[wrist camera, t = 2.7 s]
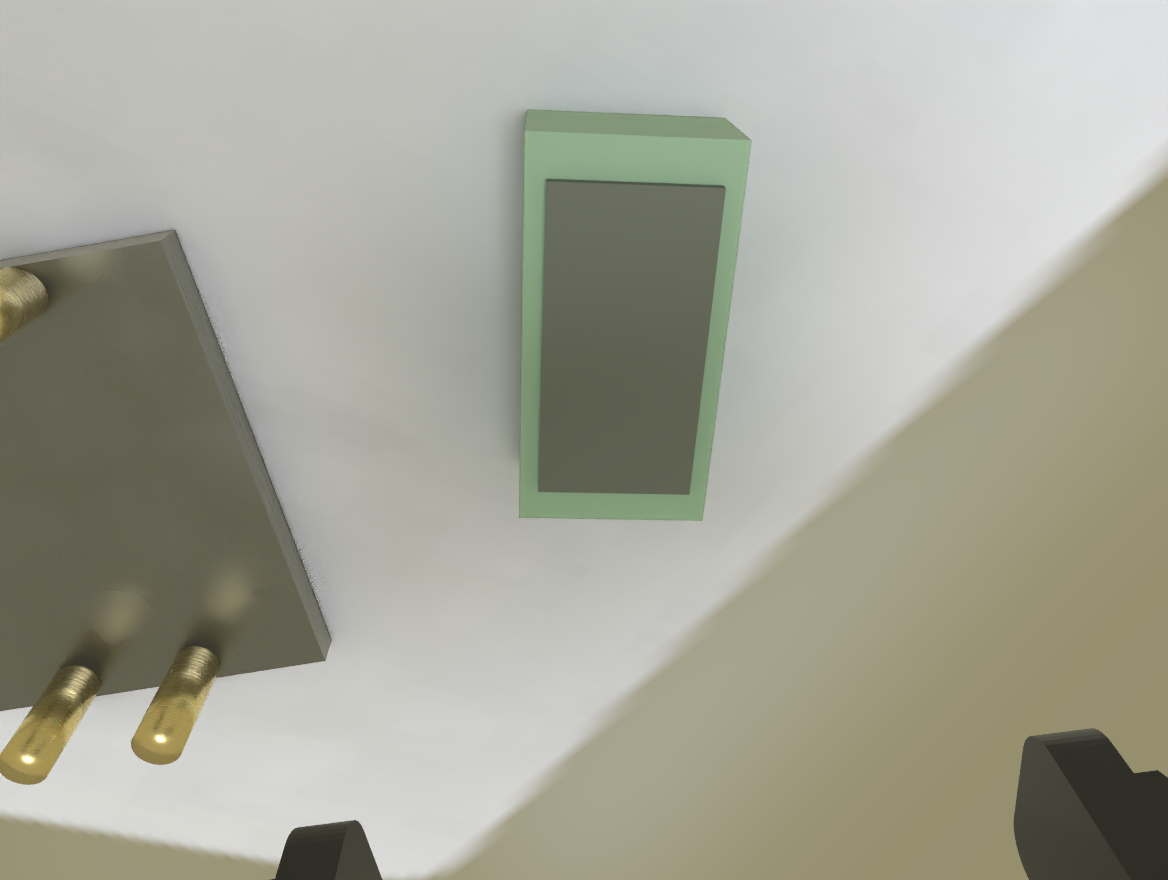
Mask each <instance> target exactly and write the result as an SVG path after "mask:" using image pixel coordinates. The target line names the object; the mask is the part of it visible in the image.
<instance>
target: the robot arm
mask: <svg viewBox="0 0 1168 880" xmlns="http://www.w3.org/2000/svg"><path fill="white" fill-rule="evenodd" d="M1014 833H1015V840H1016V844H1017V848H1018V852H1019V855H1020V859H1021V862H1022V864H1023V867H1024V869H1025V872H1026V874H1027V876H1028V878H1029V880H1168V778H1167V777H1166V776H1165V775H1163V774H1162V773H1161V772H1159V771H1158V770H1157V771H1149V772H1141V773H1133V772H1132V770H1131V769H1130V768H1129V766H1128V765H1127V763H1126V762H1125V761H1124V759H1123V758H1122V757H1121V755H1120V754H1119V753H1118V751H1117V750H1116V748H1115V747H1114V746H1113V744H1112V743H1111V742H1110V740H1109V739H1108V738H1107V737H1106V736H1105V735H1104V734H1103V733H1102V732H1100V731H1099V730H1096V729H1084V730H1076V731H1068V732H1061V733H1052V734H1044V735H1037V736H1030V737H1028V738H1027V739H1026V741H1025V743H1024V747H1023V754H1022V762H1021V769H1020V777H1019V784H1018V792H1017V799H1016V807H1015V815H1014ZM272 880H382V878H381V875H380V872H379V870H378V867H377V864H376V862H375V859H374V857H373V854H372V851H371V849H370V846H369V843H368V841H367V838H366V836H365V833H364V830H363V828H362V826H361V824H360V823H359V822H358V821H356V820H353V821H345V822H337V823H329V824H322V825H314V826H306V827H298V828H295V829H294V830H293V831H292V832H291V833H290V835H289V837H288V839H287V841H286V844H285V847H284V850H283V854H282V857H281V861H280V864H279V867H278V871H277V874H276V878H275V879H272Z"/></svg>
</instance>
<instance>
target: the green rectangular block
mask: <svg viewBox="0 0 1168 880" xmlns="http://www.w3.org/2000/svg"><path fill="white" fill-rule="evenodd" d="M750 148H751V139H749V138H748V137H747V136H746V135H745V134H743V133H742V132H741V131H740V130H739V129H738V128H736V127H735V126H734V125H733V124H732V123H730V122H729V121H728V120H727V119H726V118H713V117H689V116H666V115H643V114H620V113H596V112H573V111H550V110H527V114H526V123H525V145H524V212H523V278H522V345H521V412H520V479H519V518H574V519H633V520H693V521H702V519H703V512H704V504H705V496H706V488H707V481H708V473H709V465H710V457H711V450H712V442H713V434H714V426H715V419H716V411H717V403H718V395H719V388H720V380H721V372H722V365H723V357H724V349H725V341H726V334H727V326H728V318H729V310H730V303H731V295H732V287H733V279H734V272H735V264H736V256H737V248H738V241H739V233H740V225H741V217H742V210H743V202H744V194H745V186H746V179H747V171H748V163H749V155H750Z"/></svg>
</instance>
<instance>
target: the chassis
mask: <svg viewBox="0 0 1168 880" xmlns="http://www.w3.org/2000/svg"><path fill="white" fill-rule="evenodd" d="M330 643H331V638H330V635H329V632H328V630H327V627H326V625H325V622H324V619H323V617H322V614H321V611H320V609H319V606H318V604H317V601H316V598H315V596H314V593H313V591H312V588H311V585H310V583H309V580H308V577H307V575H306V572H305V570H304V567H303V564H302V562H301V559H300V557H299V554H298V551H297V549H296V546H295V543H294V541H293V538H292V536H291V533H290V530H289V528H288V525H287V523H286V520H285V517H284V515H283V512H282V509H281V507H280V504H279V502H278V499H277V496H276V494H275V491H274V489H273V486H272V483H271V481H270V478H269V475H268V473H267V470H266V468H265V465H264V462H263V460H262V457H261V455H260V452H259V449H258V447H257V444H256V441H255V439H254V436H253V434H252V431H251V428H250V426H249V423H248V421H247V418H246V415H245V413H244V410H243V407H242V405H241V402H240V400H239V397H238V394H237V392H236V389H235V387H234V384H233V381H232V379H231V376H230V373H229V371H228V368H227V366H226V363H225V360H224V358H223V355H222V353H221V350H220V347H219V345H218V342H217V339H216V337H215V334H214V332H213V329H212V326H211V324H210V321H209V319H208V316H207V313H206V311H205V308H204V305H203V303H202V300H201V298H200V295H199V292H198V290H197V287H196V285H195V282H194V279H193V277H192V274H191V271H190V269H189V266H188V264H187V261H186V258H185V256H184V253H183V251H182V248H181V245H180V243H179V240H178V237H177V235H176V232H175V230H172V231H166V232H161V233H155V234H149V235H143V236H138V237H132V238H126V239H120V240H115V241H109V242H103V243H98V244H92V245H86V246H80V247H75V248H69V249H63V250H57V251H52V252H46V253H40V254H34V255H29V256H23V257H17V258H11V259H6V260H0V711H4V710H10V709H17V708H23V707H30V706H33V708H32V709H31V711H30V712H29V713H28V715H27V716H26V718H25V719H24V721H23V722H22V724H21V725H20V727H19V728H18V730H17V731H16V733H15V734H14V735H13V737H12V738H11V740H10V741H9V743H8V744H7V746H6V747H5V749H4V750H3V752H2V753H1V755H0V773H1V774H2V775H3V776H4V777H6V778H7V779H9V780H11V781H13V782H16V783H19V784H26V785H30V784H37V783H39V782H42V781H43V780H44V779H45V778H46V777H47V775H48V774H49V772H50V770H51V769H52V767H53V765H54V764H55V762H56V761H57V759H58V757H59V756H60V754H61V752H62V751H63V749H64V747H65V746H66V744H67V742H68V741H69V739H70V737H71V736H72V734H73V732H74V731H75V729H76V728H77V726H78V724H79V723H80V721H81V719H82V718H83V716H84V714H85V713H86V711H87V709H88V708H89V706H90V704H91V703H92V701H93V700H94V698H95V696H101V695H107V694H114V693H120V692H127V691H133V690H140V689H146V688H153V687H159V686H160V687H159V689H158V691H157V693H156V695H155V697H154V698H153V700H152V702H151V704H150V706H149V708H148V710H147V712H146V714H145V716H144V717H143V719H142V721H141V723H140V725H139V727H138V729H137V731H136V733H135V735H134V737H133V738H132V741H131V747H132V750H133V752H134V753H135V754H136V755H137V756H138V757H139V758H140V759H142V760H144V761H146V762H149V763H152V764H159V765H163V764H169V763H172V762H174V761H176V760H177V759H178V758H179V757H180V755H181V753H182V751H183V749H184V746H185V744H186V742H187V740H188V738H189V735H190V733H191V731H192V729H193V727H194V724H195V722H196V720H197V718H198V716H199V713H200V711H201V709H202V707H203V705H204V702H205V700H206V698H207V696H208V694H209V691H210V689H211V687H212V685H213V683H214V680H215V678H217V677H224V676H230V675H237V674H243V673H250V672H256V671H263V670H269V669H276V668H282V667H288V666H295V665H301V664H308V663H314V662H321V661H325V660H326V656H327V653H328V650H329V647H330Z"/></svg>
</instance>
